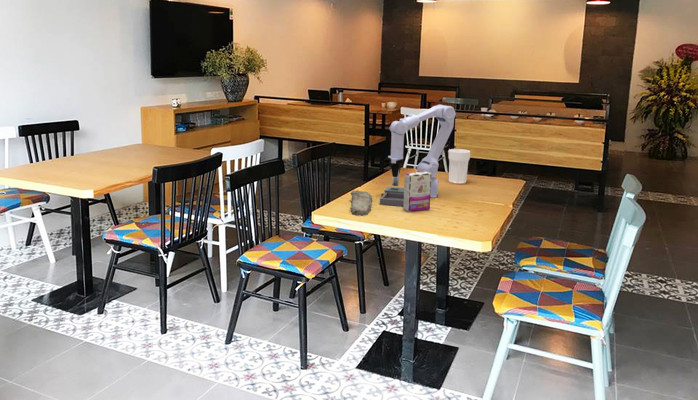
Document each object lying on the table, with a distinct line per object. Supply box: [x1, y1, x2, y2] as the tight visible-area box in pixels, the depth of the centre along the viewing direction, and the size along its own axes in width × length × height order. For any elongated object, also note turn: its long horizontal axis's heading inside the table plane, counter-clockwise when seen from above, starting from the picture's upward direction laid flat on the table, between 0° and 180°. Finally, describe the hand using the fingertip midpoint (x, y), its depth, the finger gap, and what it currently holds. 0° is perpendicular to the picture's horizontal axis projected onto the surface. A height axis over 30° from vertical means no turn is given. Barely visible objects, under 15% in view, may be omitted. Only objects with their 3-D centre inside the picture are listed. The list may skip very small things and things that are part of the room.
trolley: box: [380, 186, 404, 198], centre depth 284 cm, size 14×9×7 cm
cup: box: [447, 148, 471, 186], centre depth 317 cm, size 11×11×17 cm
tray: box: [379, 192, 404, 208], centre depth 272 cm, size 13×13×3 cm
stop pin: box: [391, 172, 400, 187], centre depth 279 cm, size 3×3×9 cm
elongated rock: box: [350, 190, 373, 217], centre depth 265 cm, size 35×5×10 cm
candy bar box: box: [402, 171, 431, 213], centre depth 259 cm, size 11×5×16 cm, turn 117°
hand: (395, 176), depth 279 cm, fingers closed on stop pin, 3 cm apart
